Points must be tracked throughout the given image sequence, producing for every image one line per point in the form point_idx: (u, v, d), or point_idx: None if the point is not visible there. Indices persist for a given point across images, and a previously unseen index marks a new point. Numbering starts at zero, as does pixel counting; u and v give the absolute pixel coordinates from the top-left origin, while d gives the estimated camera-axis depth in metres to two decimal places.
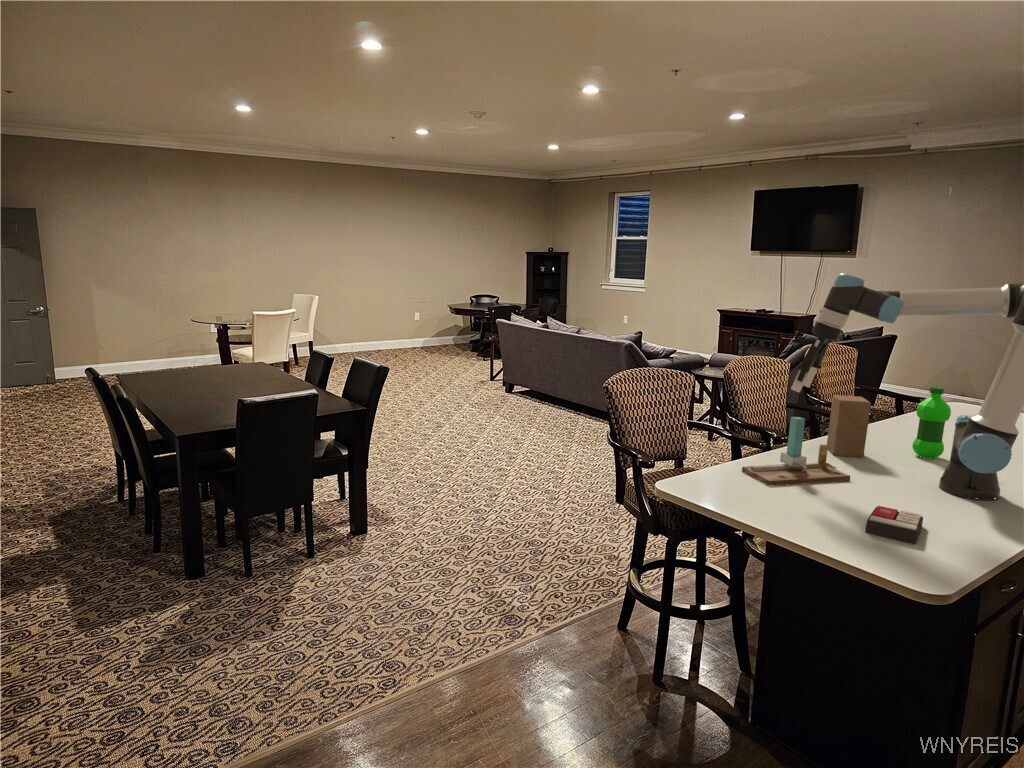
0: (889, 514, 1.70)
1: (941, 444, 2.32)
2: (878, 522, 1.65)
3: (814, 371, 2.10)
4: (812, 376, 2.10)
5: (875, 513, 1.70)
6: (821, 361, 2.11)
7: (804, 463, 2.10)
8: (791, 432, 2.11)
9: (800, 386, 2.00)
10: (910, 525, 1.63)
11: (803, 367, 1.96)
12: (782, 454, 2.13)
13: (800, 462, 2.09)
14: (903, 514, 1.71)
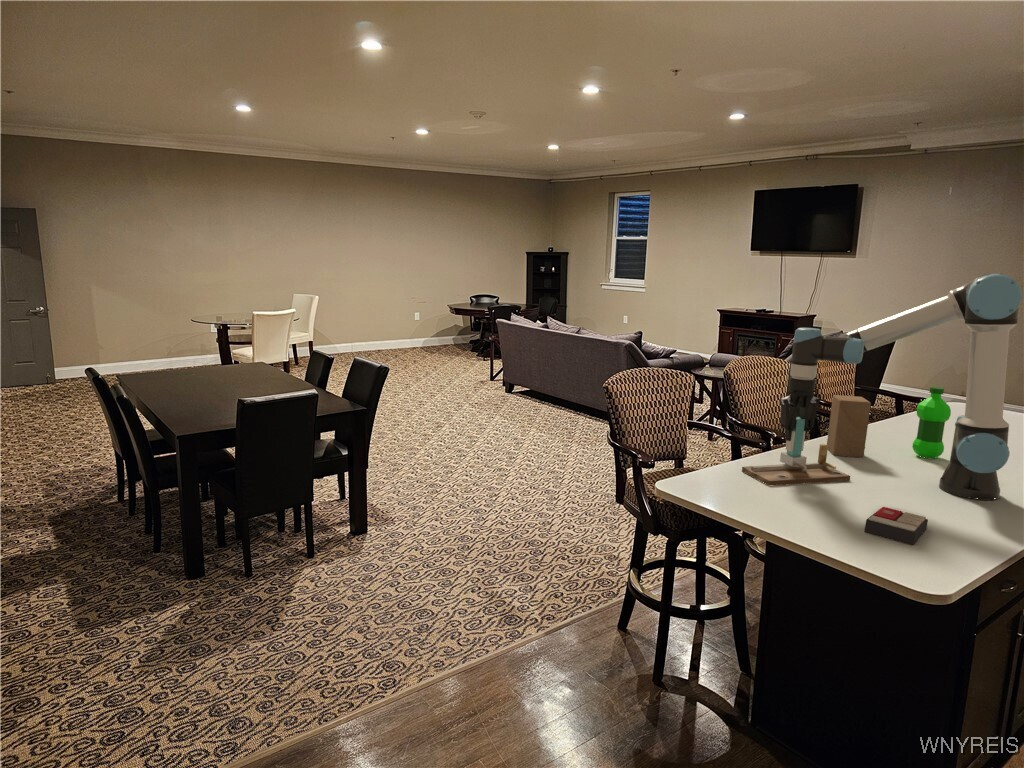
0: (891, 515, 1.69)
1: (941, 444, 2.32)
2: (877, 522, 1.65)
3: None
4: None
5: (877, 513, 1.70)
6: (811, 422, 2.10)
7: (804, 463, 2.10)
8: None
9: (790, 445, 2.10)
10: (910, 526, 1.62)
11: (782, 427, 2.09)
12: (782, 454, 2.13)
13: (800, 462, 2.09)
14: (906, 516, 1.70)
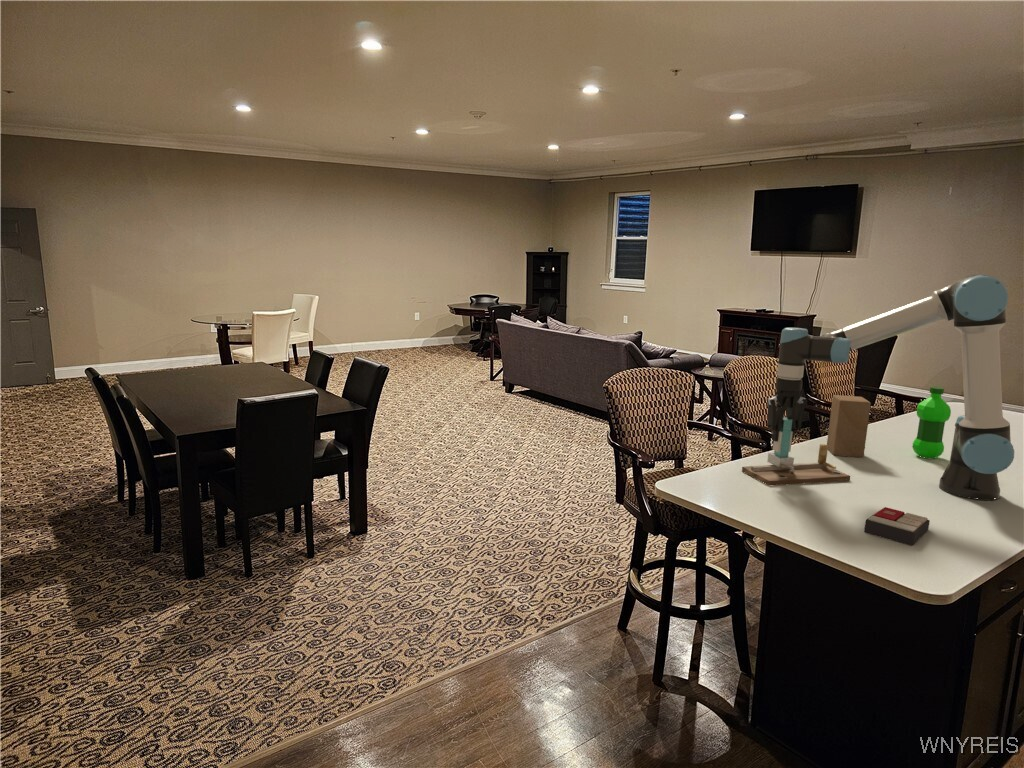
0: (892, 515, 1.69)
1: (941, 444, 2.32)
2: (876, 522, 1.65)
3: None
4: None
5: (877, 513, 1.70)
6: (799, 423, 2.09)
7: (791, 464, 2.09)
8: None
9: (777, 446, 2.09)
10: (909, 527, 1.62)
11: (769, 427, 2.08)
12: (769, 455, 2.12)
13: (787, 463, 2.08)
14: (908, 516, 1.69)
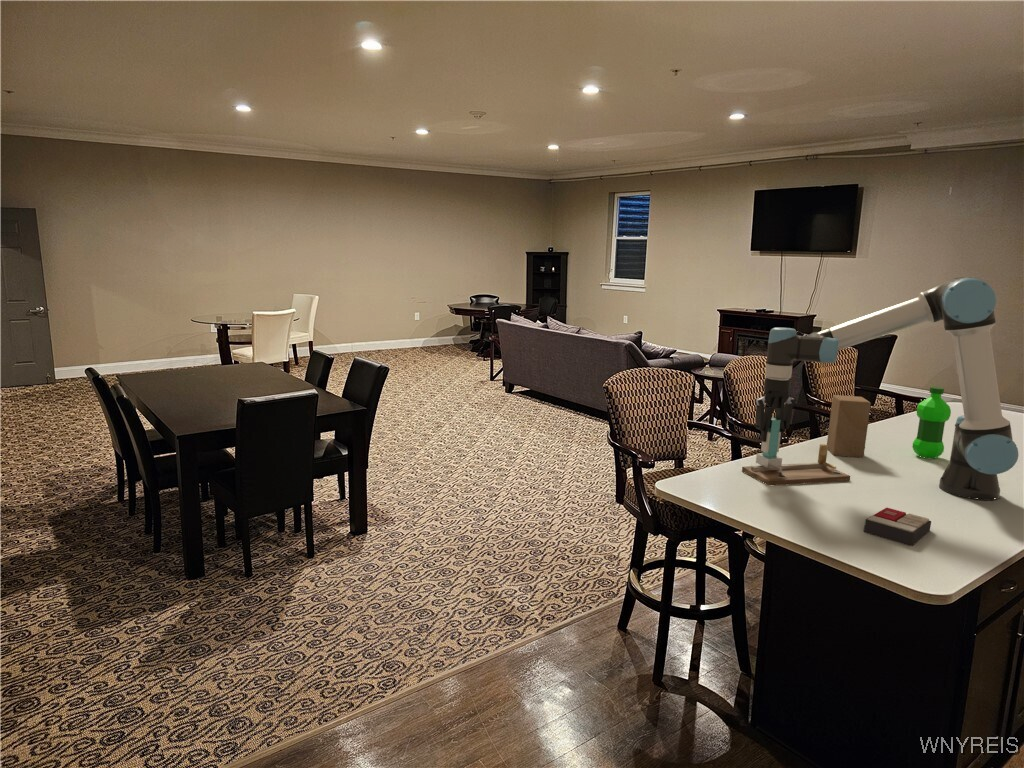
0: (893, 516, 1.69)
1: (941, 444, 2.32)
2: (876, 522, 1.65)
3: None
4: None
5: (878, 514, 1.69)
6: (787, 423, 2.08)
7: (780, 464, 2.08)
8: None
9: (766, 446, 2.08)
10: (909, 527, 1.62)
11: (757, 428, 2.07)
12: (758, 455, 2.11)
13: (775, 463, 2.07)
14: (909, 517, 1.69)
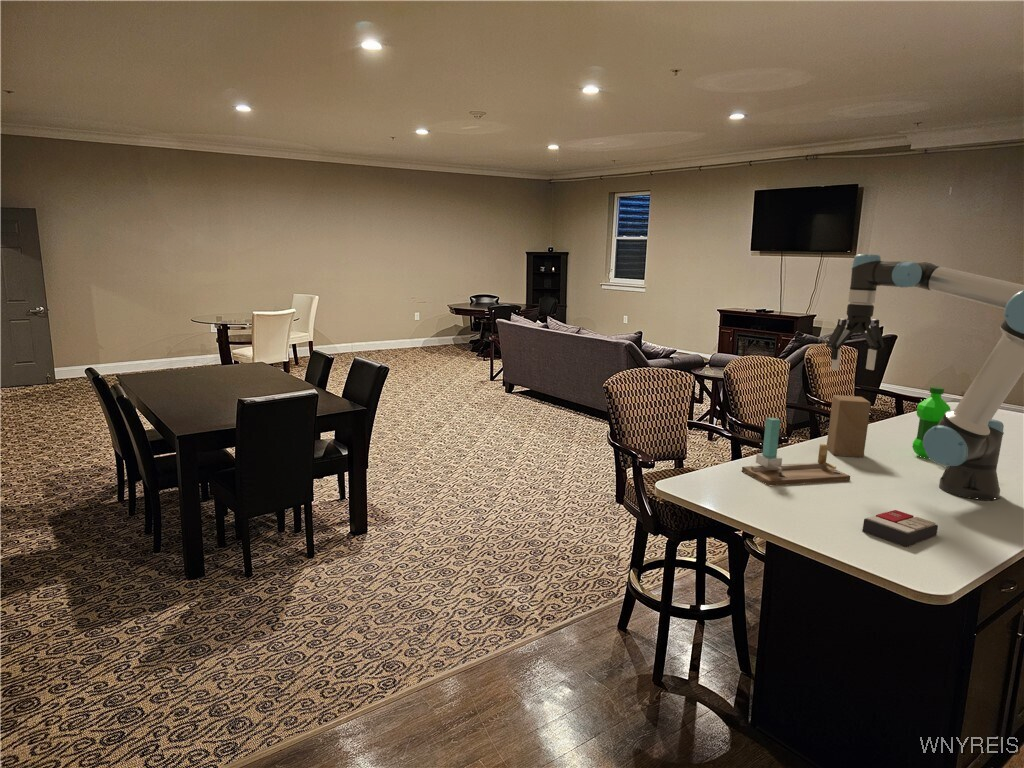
0: (896, 517, 1.68)
1: None
2: (874, 522, 1.65)
3: (873, 353, 2.15)
4: (872, 358, 2.15)
5: (880, 514, 1.69)
6: (881, 343, 2.15)
7: (779, 464, 2.08)
8: (766, 433, 2.08)
9: (836, 364, 2.12)
10: (906, 528, 1.61)
11: (828, 345, 2.11)
12: (758, 455, 2.11)
13: (775, 463, 2.07)
14: (913, 519, 1.67)
